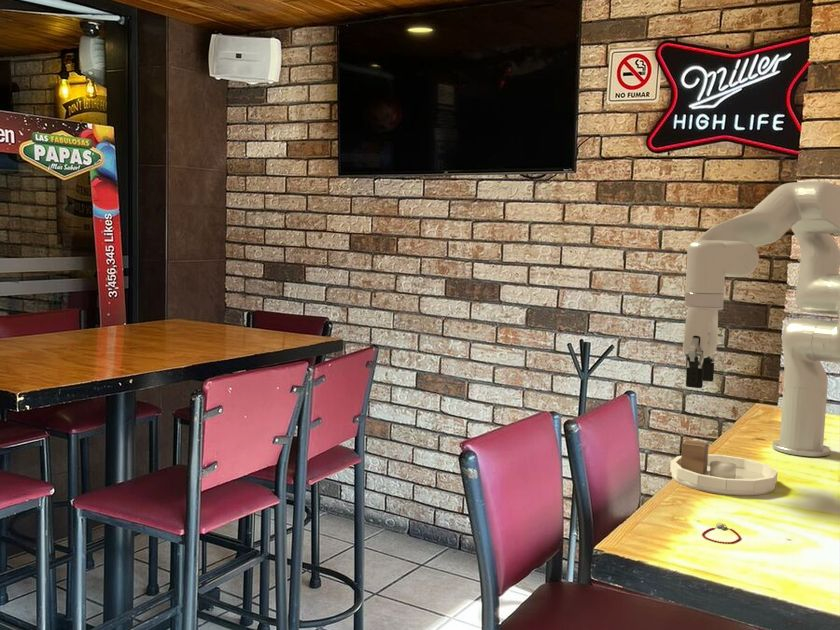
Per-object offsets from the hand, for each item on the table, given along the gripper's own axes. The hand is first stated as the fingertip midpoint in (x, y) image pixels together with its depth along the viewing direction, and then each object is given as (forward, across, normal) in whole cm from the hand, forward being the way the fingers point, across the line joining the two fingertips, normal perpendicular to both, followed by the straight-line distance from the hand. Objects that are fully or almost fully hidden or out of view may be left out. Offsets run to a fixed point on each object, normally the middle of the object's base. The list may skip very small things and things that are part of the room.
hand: (699, 383), depth 174 cm
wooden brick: (+18, 0, 0) cm, 19 cm away
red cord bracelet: (+20, +34, +13) cm, 42 cm away
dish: (+20, 0, +6) cm, 20 cm away
